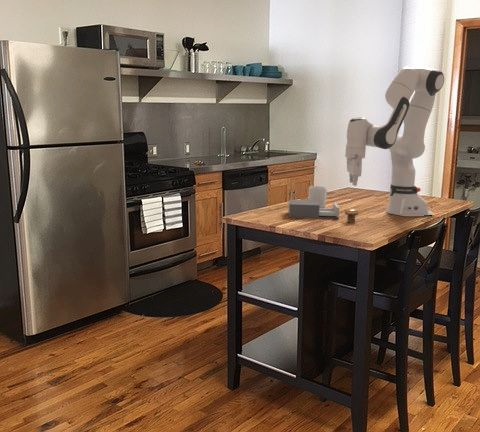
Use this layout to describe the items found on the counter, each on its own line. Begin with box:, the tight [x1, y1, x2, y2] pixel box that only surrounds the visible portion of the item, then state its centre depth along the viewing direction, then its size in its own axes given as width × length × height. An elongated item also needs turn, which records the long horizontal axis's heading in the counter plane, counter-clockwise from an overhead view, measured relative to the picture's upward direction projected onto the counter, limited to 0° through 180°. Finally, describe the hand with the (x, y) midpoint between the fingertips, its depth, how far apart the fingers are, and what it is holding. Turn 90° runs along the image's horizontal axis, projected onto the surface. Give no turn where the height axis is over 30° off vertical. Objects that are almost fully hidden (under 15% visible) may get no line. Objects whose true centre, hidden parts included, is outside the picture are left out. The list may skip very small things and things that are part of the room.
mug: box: [307, 185, 328, 208], centre depth 281 cm, size 12×9×11 cm
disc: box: [344, 208, 359, 216], centre depth 250 cm, size 6×6×2 cm
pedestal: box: [346, 215, 356, 223], centre depth 250 cm, size 3×3×4 cm
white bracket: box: [319, 202, 340, 218], centre depth 261 cm, size 14×13×5 cm
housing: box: [288, 199, 339, 220], centre depth 262 cm, size 23×13×6 cm, turn 87°
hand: (353, 184), depth 247 cm, fingers open, 8 cm apart
